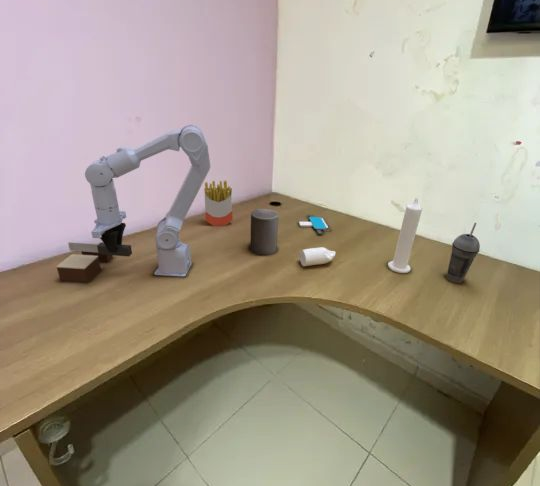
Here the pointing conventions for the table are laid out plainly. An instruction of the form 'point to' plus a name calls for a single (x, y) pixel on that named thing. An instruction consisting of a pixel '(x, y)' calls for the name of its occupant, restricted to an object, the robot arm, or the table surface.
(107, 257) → the cake slice
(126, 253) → the knife
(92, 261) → the cake
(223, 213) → the french fries container
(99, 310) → the table surface
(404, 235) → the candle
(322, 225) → the blue flat paddle
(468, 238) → the beverage cup
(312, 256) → the white bottle
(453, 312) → the table surface
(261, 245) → the pillar candle
